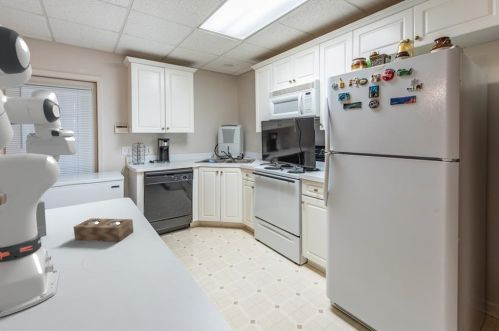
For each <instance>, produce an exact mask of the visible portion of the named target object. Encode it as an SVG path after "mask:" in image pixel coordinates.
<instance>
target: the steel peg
mask: <svg viewBox="0 0 499 331" xmlns="http://www.w3.org/2000/svg"><path fill="white" fill-rule="evenodd" d="M97 223H99V221H92V222H89V223H88V225H95V224H97Z"/></svg>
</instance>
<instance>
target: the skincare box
mask: <svg viewBox="0 0 499 331" xmlns="http://www.w3.org/2000/svg"><path fill="white" fill-rule="evenodd" d="M36 221H37V231H38V233H39V234H40V237H41V238H42V237H45V236H48V235H47V224H46V206H45V201H43V200H41V199H40V200H39V202H38V205H37V209H36Z"/></svg>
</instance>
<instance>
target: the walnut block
mask: <svg viewBox="0 0 499 331" xmlns="http://www.w3.org/2000/svg"><path fill="white" fill-rule="evenodd" d="M92 221H99V223H97V224H95V225H88V223H89V222H92ZM112 222H120V224H118V225H110V223H112ZM133 222H134V221H133V218H132V219H131V218H94V217H93V218H89V219H87V220H85V221H83V222H81V223H78V224H76V225H74V226H73V233H74V241H80V242H81V241H82V242H109V241H110V243H111V242H115V243H121V242H122V241H123V240H124V239H126V238H127V237H129V236H130V235H131V234H134V223H133Z"/></svg>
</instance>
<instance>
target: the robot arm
mask: <svg viewBox="0 0 499 331" xmlns="http://www.w3.org/2000/svg"><path fill="white" fill-rule="evenodd" d="M32 74H33V68H32V65H31V52H30V49H29V46H28V43H27V41H26V40H25V38H24V37H23V36H22V35H20V34H19V33H18V32H17V31H15V30H13V29H12V28H8V27H5V26H3V25H2V24H0V151H1V150H3V149H4V148H6V147H7V146H8V145H10V144H11V143H12V141H13V139H14V136H15V131H14V129H13V125H33V127H34V128H33V130H34V132H30V133H28V134H27V135H26V139H25V140H26V141H25V149H26V150H25V152H26V153H24V152H23V153H7V154H6V153H5V154H3V153H0V194H5V195H6V202H5V203H3V204H0V318H1V317H4V316H8V315H11V314H14V313H16V312H20V311H23V310H25V309H28V308H30V307H33V306H35V305H37V304H40V303H42V302H44V301H46V300H48V299H50V298H52V296H54V295H55V294H56V291H57V286H58V282H59V278H60V269H59V268H57V267H54V264H53V263H51V261H52V256H51V255H50V253H49V249H48V248H46V247H43V246H42V244H43V243H42V237H40V234H39V233H38V231H37V221H36V209H37V205H38V202H39V200H41V198H42V196H44V194H45V193H46V192H47V191H48V190H49V189H51V187H53V186H54V185H55V184H56V183H57V182H58V181H59V179H60V175H61V168H60V167H61V166H60V165H59V160H60V159H61V156H72V155H73V156H74V155H76V154H77V152H78V147H77V143H76V140H75V137H74V136H75V133H74V131H73V130H70V129H68V128H67V129H66V128H64V127H62V123H61V120H60V117H61V111H60V110H61V109H60V106H59V105H60V104H59V102H58V97H57V96H56V94H55V93H54V92H52V91H48V90H40V89H39V90H34V91H31V97H29V96H28V97H27V96H25V97H24V96H9V95H5V94H4V92H3V90H8V89H9V90H10V89H15V88H19V87H21V86H22V87H23V85H25V84H27V82H28V81H30V79H31V77H32Z"/></svg>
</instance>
